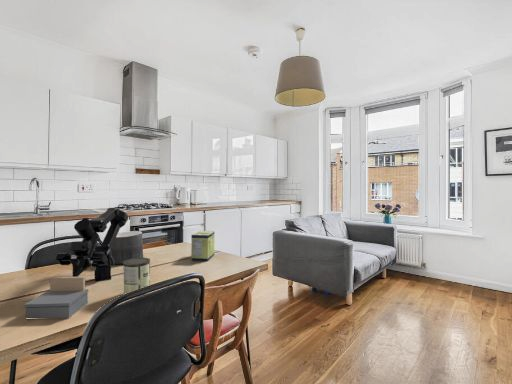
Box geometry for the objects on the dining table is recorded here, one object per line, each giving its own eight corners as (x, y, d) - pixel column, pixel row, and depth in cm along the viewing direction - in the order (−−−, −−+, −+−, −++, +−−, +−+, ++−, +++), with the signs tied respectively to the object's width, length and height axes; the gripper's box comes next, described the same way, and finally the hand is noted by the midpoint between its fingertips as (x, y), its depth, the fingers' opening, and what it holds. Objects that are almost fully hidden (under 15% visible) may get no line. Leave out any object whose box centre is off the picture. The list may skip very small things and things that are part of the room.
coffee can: (129, 289, 120) (129, 257, 120) (153, 289, 121) (153, 257, 120) (118, 299, 110) (118, 264, 110) (144, 299, 110) (144, 264, 110)
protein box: (214, 254, 180) (214, 231, 180) (207, 261, 165) (208, 235, 164) (199, 254, 181) (199, 230, 181) (191, 260, 166) (191, 235, 166)
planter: (131, 265, 154) (129, 237, 153) (103, 264, 157) (101, 237, 156) (149, 256, 171) (147, 231, 170) (123, 255, 175) (122, 231, 174)
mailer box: (49, 304, 105) (49, 293, 105) (87, 303, 106) (87, 292, 106) (25, 319, 93) (25, 307, 93) (69, 318, 94) (68, 306, 94)
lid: (49, 292, 105) (48, 277, 105) (88, 291, 106) (88, 276, 106) (24, 307, 93) (24, 289, 93) (69, 306, 94) (69, 288, 94)
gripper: (57, 233, 113) (38, 268, 103) (104, 233, 115) (91, 267, 104) (69, 248, 121) (52, 281, 111) (113, 247, 123) (101, 281, 112)
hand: (74, 277), depth 109 cm, fingers closed
